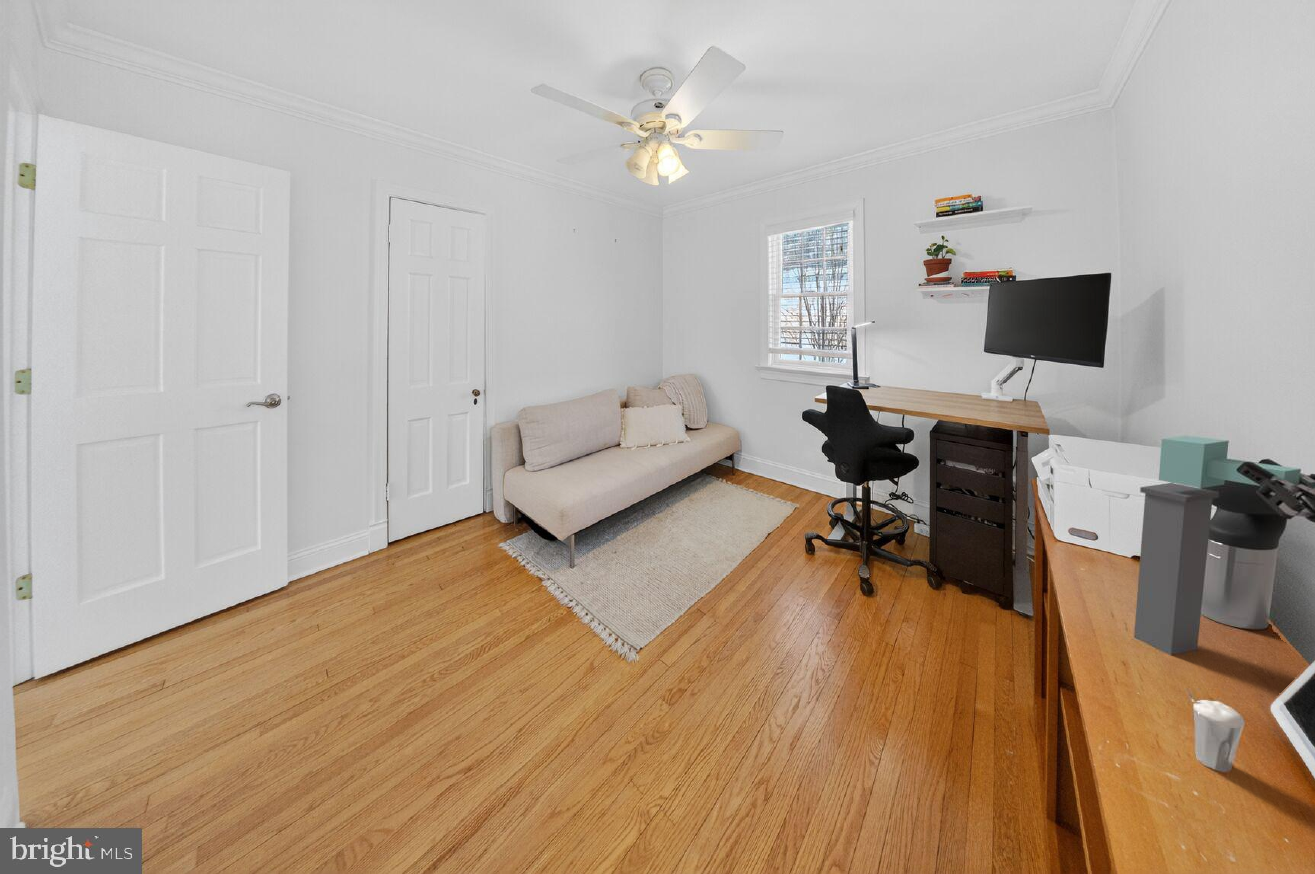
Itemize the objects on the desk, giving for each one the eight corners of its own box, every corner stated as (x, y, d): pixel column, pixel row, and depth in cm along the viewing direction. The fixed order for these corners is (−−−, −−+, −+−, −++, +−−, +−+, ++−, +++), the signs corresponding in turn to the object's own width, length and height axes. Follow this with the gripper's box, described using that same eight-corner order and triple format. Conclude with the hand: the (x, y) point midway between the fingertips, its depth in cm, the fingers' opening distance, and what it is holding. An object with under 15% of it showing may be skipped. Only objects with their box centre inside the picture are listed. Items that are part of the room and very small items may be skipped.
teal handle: (1158, 480, 85) (1161, 438, 84) (1181, 476, 85) (1184, 435, 84) (1275, 502, 70) (1281, 453, 69) (1302, 498, 71) (1308, 449, 69)
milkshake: (1185, 740, 68) (1191, 682, 67) (1242, 766, 64) (1250, 704, 62) (1175, 754, 66) (1181, 695, 65) (1233, 782, 62) (1241, 718, 60)
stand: (1129, 636, 92) (1140, 487, 87) (1158, 630, 93) (1171, 482, 88) (1171, 657, 85) (1186, 497, 80) (1202, 651, 86) (1219, 492, 81)
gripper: (1333, 571, 62) (1198, 485, 76) (1413, 556, 64) (1267, 475, 77) (1387, 537, 58) (1232, 452, 71) (1472, 522, 59) (1305, 441, 73)
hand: (1251, 464), depth 74 cm, fingers closed on teal handle, 3 cm apart
